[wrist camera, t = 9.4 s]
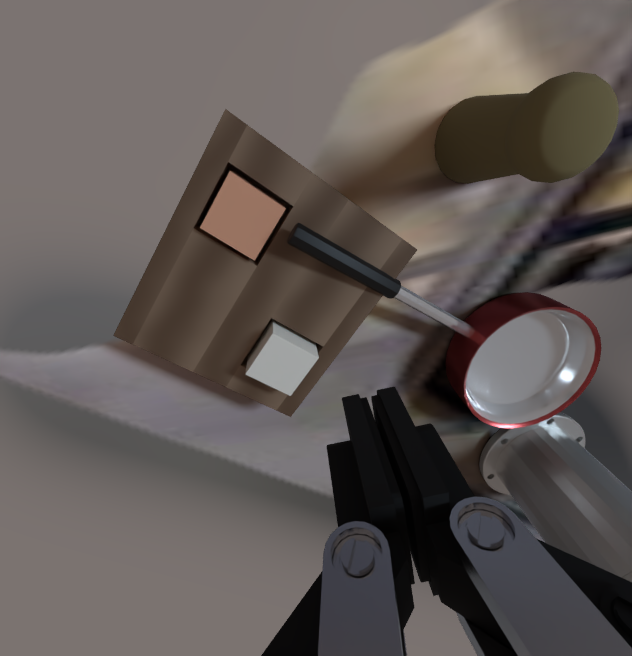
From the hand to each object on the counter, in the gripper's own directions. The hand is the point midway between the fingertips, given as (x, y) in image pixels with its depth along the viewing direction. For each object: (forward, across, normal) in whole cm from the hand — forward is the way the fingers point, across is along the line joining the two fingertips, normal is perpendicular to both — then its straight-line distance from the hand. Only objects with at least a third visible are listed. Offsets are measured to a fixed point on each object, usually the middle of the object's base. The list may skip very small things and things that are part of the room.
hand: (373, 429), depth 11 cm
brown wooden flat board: (+21, +5, 0) cm, 22 cm away
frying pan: (+22, -10, +7) cm, 25 cm away
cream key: (+19, +5, +5) cm, 20 cm away
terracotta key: (+19, +5, -6) cm, 21 cm away
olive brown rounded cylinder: (+21, -14, -7) cm, 26 cm away
